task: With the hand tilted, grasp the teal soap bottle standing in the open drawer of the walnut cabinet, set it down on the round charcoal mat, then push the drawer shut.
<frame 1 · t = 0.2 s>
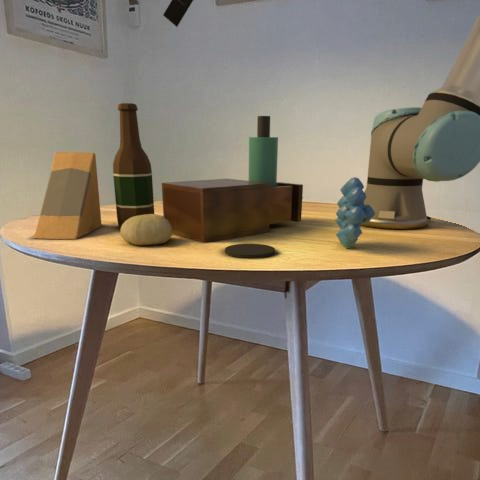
hand: (172, 10, 71), 36 cm above the table, tool tilted 35°, fingers open, 13 cm apart
sandwich container: (69, 232, 95), on the table
mat: (250, 252, 78), on the table
beer bottle: (136, 227, 100), on the table
grapes: (352, 249, 82), on the table
supplement bottle: (138, 219, 111), on the table
cabinet: (216, 231, 95), on the table
drawer: (263, 202, 101), point 5 cm above the table, slide at 9.0 cm, touching soap bottle
soap bottle: (261, 215, 102), point 2 cm above the table, touching drawer
sea urchin shell: (148, 243, 86), on the table
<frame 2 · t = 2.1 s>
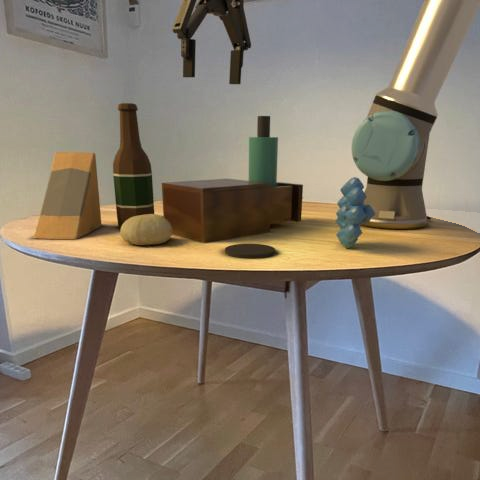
hand: (212, 81, 98), 29 cm above the table, tool pointing down, fingers open, 13 cm apart
nothing on the table moved.
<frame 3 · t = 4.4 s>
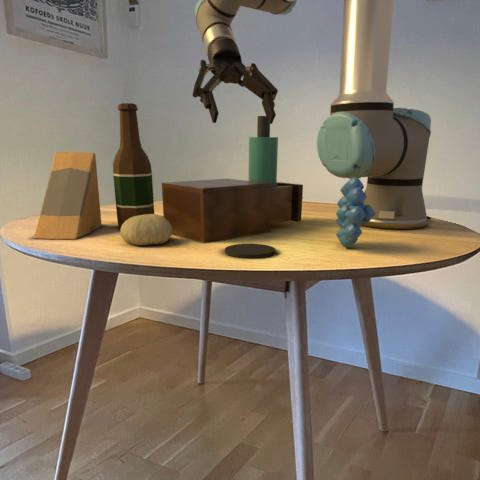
hand: (244, 118, 104), 22 cm above the table, tool tilted 45°, fingers open, 13 cm apart
nothing on the table moved.
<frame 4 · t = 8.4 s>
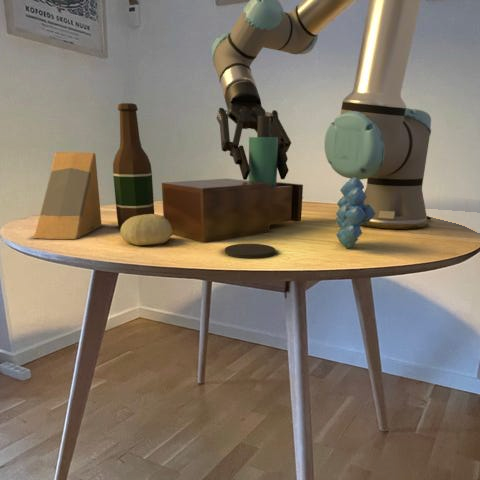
hand: (266, 174, 96), 11 cm above the table, tool tilted 45°, fingers open, 8 cm apart
nothing on the table moved.
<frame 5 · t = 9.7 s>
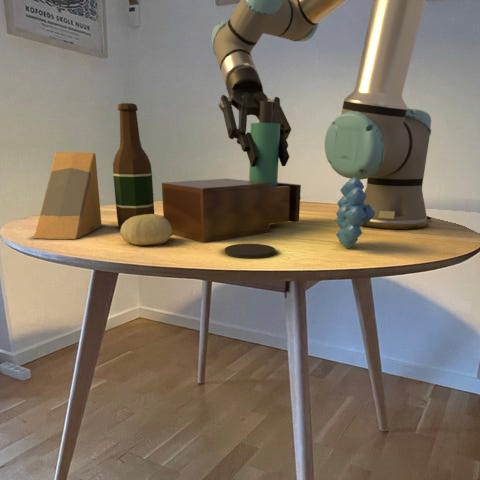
hand: (270, 161, 95), 13 cm above the table, tool tilted 45°, fingers closed on soap bottle, 6 cm apart
drawer: (261, 202, 101), point 5 cm above the table, slide at 8.3 cm
soap bottle: (262, 203, 101), point 5 cm above the table, touching gripper
everything else where it was.
when the fingers open (9 cm above the table, at t = 20.3 s): soap bottle stays where it is, resting on mat.
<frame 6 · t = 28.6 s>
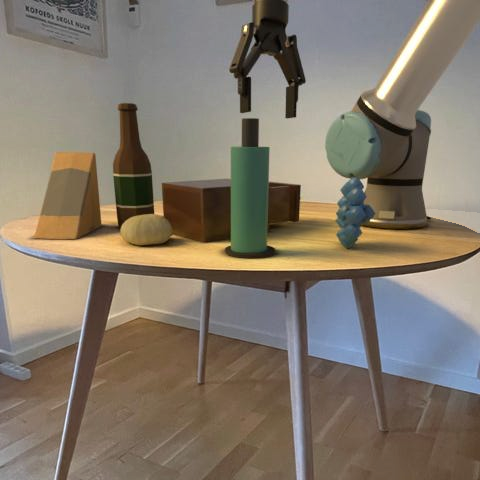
hand: (269, 115, 102), 22 cm above the table, tool pointing down, fingers open, 13 cm apart
soap bottle: (248, 249, 78), point 1 cm above the table, touching mat
everything else where it was.
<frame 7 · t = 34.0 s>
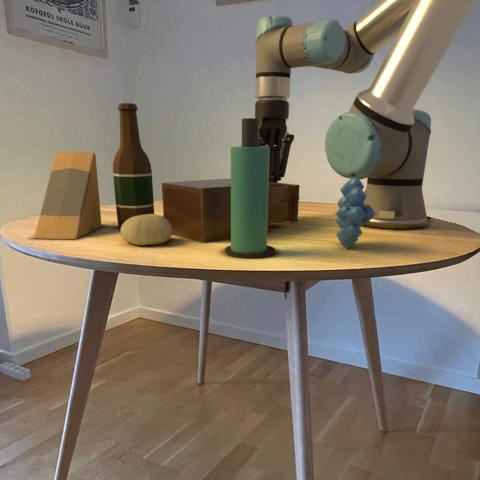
hand: (268, 209, 111), 2 cm above the table, tool pointing down, fingers closed
drawer: (259, 202, 101), point 5 cm above the table, slide at 7.9 cm, touching gripper
everything else where it was.
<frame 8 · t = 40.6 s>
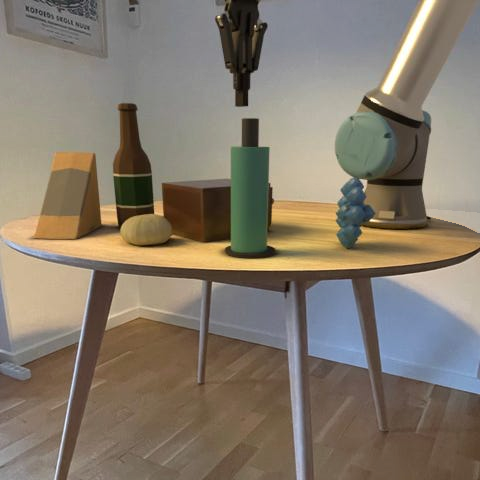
hand: (241, 106, 104), 24 cm above the table, tool pointing down, fingers closed
drawer: (231, 206, 96), point 5 cm above the table, slide at 0.0 cm
everything else where it was.
at the end: soap bottle inside the target area on the mat (0.4 cm from its centre), point 0.6 cm above the mat's base; soap bottle tilted 0°; drawer slide at 0.0 cm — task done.
